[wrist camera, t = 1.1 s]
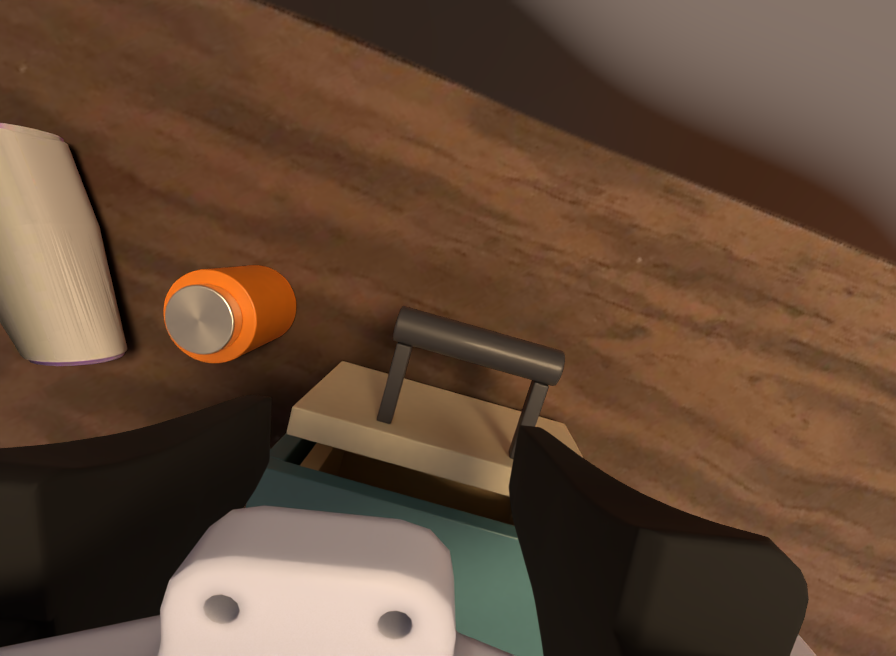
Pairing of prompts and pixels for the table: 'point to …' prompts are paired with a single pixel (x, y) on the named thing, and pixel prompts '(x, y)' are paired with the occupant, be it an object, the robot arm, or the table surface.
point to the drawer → (429, 419)
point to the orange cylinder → (228, 311)
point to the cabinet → (466, 535)
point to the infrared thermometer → (52, 256)
